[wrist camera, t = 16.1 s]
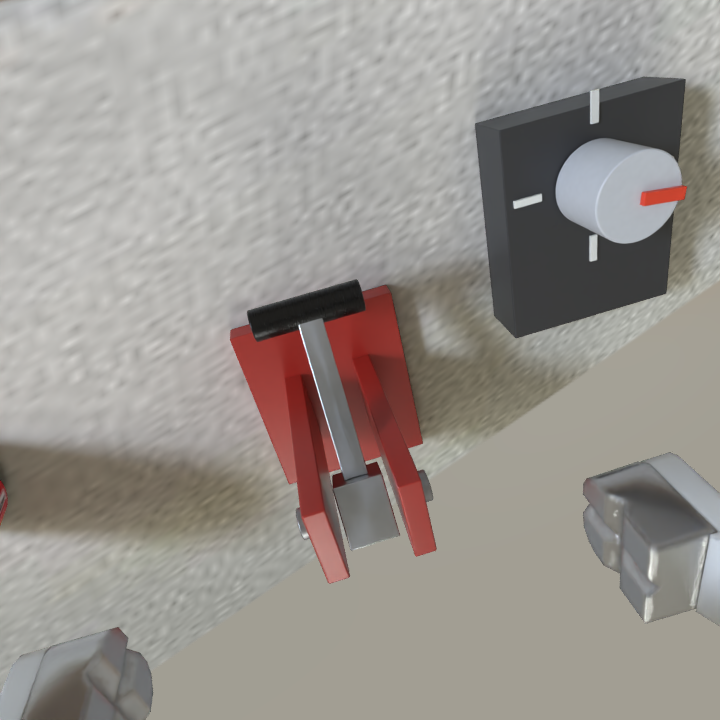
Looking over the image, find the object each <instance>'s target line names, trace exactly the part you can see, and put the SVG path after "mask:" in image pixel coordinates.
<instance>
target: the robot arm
mask: <svg viewBox="0 0 720 720" xmlns="http://www.w3.org/2000/svg"><path fill="white" fill-rule="evenodd" d="M583 495H584V496H585V497H586V499H587V500H588V502H589V503H590V504H589V505H588V506H587V508H586V509H585V511H584V512H583V516H584V517H583V518H584V528H585V531H586V534H587V537H588V540H589V542H590V544H591V546H592V548H593V550H594V552H595V553H596V555H597V556H598V558H599V559H600V561H601V562H602V564H603V565H604V566H606V567H608V568H610V569H612V570H614V571H616V572H618V573H620V589H621V590H622V592H623V593H624V595H625V596H626V597H627V599H628V600H629V602H630V603H631V604H632V606H633V607H634V608H635V610H636V611H637V613H638V614H639V616H640V617H641V618H642V620H643V621H644V622H645V623H649V622H653V621H656V620H659V619H663V618H666V617H670V616H673V615H676V614H680V613H683V612H686V611H690V610H693V609H696V612H697V613H699V614H701V615H702V616H704V617H705V618H707V619H709V620H711V621H712V622H714V623H715V624H717V625H718V626H720V493H719V492H718V491H717V490H716V489H715V488H714V487H712V486H711V485H710V484H709V483H708V482H707V481H706V480H705V479H704V478H702V477H701V476H700V475H699V474H698V473H697V472H696V471H695V470H694V469H692V468H691V467H690V466H689V465H688V464H687V463H686V462H685V461H684V460H682V459H681V458H680V457H679V456H678V455H676V454H673V453H671V452H669V453H666V454H663V455H659V456H656V457H653V458H650V459H647V460H643V461H641V462H635V463H632V464H629V465H626V466H623V467H620V468H617V469H614V470H611V471H608V472H605V473H602V474H599V475H596V476H593V477H590V478H587V479H586V480H585V482H584V484H583ZM127 641H128V637H127V636H126V635H125V634H124V633H123V632H122V631H121V630H120V629H119V627H117V628H113V629H109V630H106V631H102V632H99V633H95V634H92V635H88V636H85V637H81V638H78V639H74V640H71V641H67V642H64V643H60V644H57V645H53V646H50V647H47V648H43V649H40V650H37V651H34V652H30V653H27V654H24V655H21V656H20V657H19V658H18V659H17V661H16V662H15V663H14V664H13V665H12V667H11V669H10V671H9V674H8V677H7V679H6V682H5V684H4V687H3V690H2V692H1V695H0V720H146V718H147V716H148V715H149V713H150V712H151V704H152V696H153V688H152V677H151V672H150V669H149V666H148V664H147V661H146V660H145V659H144V657H143V656H142V655H141V653H139V652H136V651H132V650H129V649H126V647H127Z"/></svg>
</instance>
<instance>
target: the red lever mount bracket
mask: <svg viewBox="0 0 720 720" xmlns="http://www.w3.org/2000/svg"><path fill="white" fill-rule="evenodd" d="M362 294H363V297H364V301H365V306H366V310H365V311H363V312H359V313H356V314H353V315H349V316H346V317H342V318H339V319H335V320H332V321H329V322H325V323H324V325H325V328H326V332H327V335H328V339H329V342H330V345H331V349H332V352H333V355H334V359H335V362H336V366H337V369H338V372H339V376H340V379H341V383H342V386H343V389H344V393H345V396H346V399H347V403H348V406H349V410H350V413H351V416H352V420H353V423H354V426H355V430H356V433H357V437H358V440H359V443H360V447H361V450H362V454H363V457H364V460H365V461H368V460H371V459H374V458H377V457H382V460H383V463H384V466H385V469H386V472H387V475H388V478H389V481H390V483H391V486H392V489H393V492H394V495H395V498H396V501H397V504H398V507H399V509H400V513H401V515H402V518H403V521H404V524H405V527H406V530H407V533H408V536H409V539H410V542H411V545H412V548H413V551H414V554H415V556H420V555H423V554H426V553H430V552H433V551H436V544H435V539H434V535H433V531H432V526H431V522H430V517H429V513H428V508H427V504H426V502H428V501H431V500H433V493H432V490H431V486H430V483H429V480H428V477H427V475H426V473H425V471H424V470H420V471H417V469H416V467H415V464H414V462H413V459H412V457H411V455H410V452H409V450H408V448H410V447H414V446H417V445H420V444H423V441H422V436H421V432H420V427H419V422H418V417H417V413H416V408H415V403H414V399H413V394H412V389H411V384H410V380H409V375H408V370H407V366H406V361H405V356H404V351H403V347H402V342H401V337H400V333H399V328H398V323H397V318H396V314H395V309H394V304H393V299H392V295H391V292H390V290H389V289H388V287H387V286H386V285H384V286H380V287H377V288H373V289H370V290H366V291H363V292H362ZM230 341H231V343H232V346H233V348H234V351H235V353H236V356H237V358H238V361H239V363H240V365H241V368H242V370H243V373H244V375H245V378H246V380H247V383H248V385H249V387H250V390H251V392H252V395H253V397H254V400H255V402H256V404H257V407H258V409H259V412H260V414H261V417H262V419H263V422H264V424H265V426H266V429H267V431H268V434H269V436H270V439H271V441H272V444H273V446H274V448H275V451H276V453H277V456H278V458H279V461H280V463H281V465H282V468H283V470H284V473H285V475H286V478H287V480H288V483H289V484H292V483H296V482H297V487H298V495H299V503H300V507H299V508H297V509H296V518H297V522H298V526H299V530H300V533H301V535H302V537H303V539H304V540H306V539H309V538H310V540H311V542H312V545H313V547H314V550H315V552H316V554H317V557H318V559H319V562H320V564H321V566H322V569H323V571H324V574H325V576H326V579H327V581H328V583H329V584H331V583H334V582H337V581H340V580H343V579H346V578H349V577H350V574H349V569H348V564H347V559H346V554H345V549H344V545H343V539H342V534H341V529H340V524H339V519H338V514H337V509H336V505H335V500H334V495H333V490H332V485H331V480H330V475H329V472H332V471H335V470H338V469H341V468H340V465H339V461H338V458H337V455H336V451H335V448H334V444H333V441H332V438H331V434H330V431H329V428H328V424H327V421H326V418H325V414H324V411H323V408H322V404H321V401H320V397H319V394H318V391H317V387H316V384H315V381H314V377H313V374H312V371H311V367H310V364H309V361H308V357H307V354H306V351H305V347H304V344H303V340H302V337H301V334H300V330H298V331H294V332H291V333H287V334H284V335H281V336H277V337H274V338H270V339H267V340H263V341H260V342H257V341H256V340H255V338H254V336H253V333H252V331H251V328H250V324H249V325H246V326H242V327H239V328H235V329H232V330H231V331H230Z"/></svg>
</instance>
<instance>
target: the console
mask: <svg viewBox="0 0 720 720" xmlns="http://www.w3.org/2000/svg"><path fill="white" fill-rule="evenodd" d="M685 81H686V80H685V79H678V78H657V77H641V78H638V79H634V80H631V81H627V82H623V83H620V84H616V85H612V86H609V87H605V88H602V89H595V90H592V91H590V92H587V93H584V94H580V95H576V96H573V97H569V98H566V99H562V100H558V101H555V102H551V103H548V104H544V105H540V106H537V107H533V108H530V109H526V110H522V111H519V112H515V113H512V114H508V115H504V116H501V117H497V118H493V119H490V120H486V121H483V122H479V123H476V124H475V128H476V138H477V148H478V158H479V168H480V178H481V188H482V198H483V208H484V218H485V228H486V237H487V247H488V257H489V267H490V277H491V287H492V297H493V307H494V316H495V317H496V318H497V319H498V320H499V321H500V322H501V323H502V324H503V325H504V327H505V328H506V329H507V330H508V331H509V332H510V333H511V334H512V335H513V336H514V337H515V338H519V337H522V336H525V335H529V334H532V333H536V332H539V331H542V330H546V329H549V328H552V327H556V326H559V325H562V324H566V323H569V322H572V321H576V320H579V319H583V318H586V317H589V316H593V315H596V314H599V313H603V312H606V311H609V310H613V309H616V308H619V307H623V306H626V305H629V304H633V303H636V302H640V301H643V300H646V299H650V298H653V297H656V296H660V295H663V294H666V291H667V280H668V269H669V258H670V247H671V236H672V224H673V213H674V211H673V213H672V214H671V216H670V217H669V219H668V220H667V221H666V222H665V223H664V225H663V226H662V227H660V228H659V229H658V230H657V231H656V232H655V233H653V234H652V235H650V236H649V237H647V238H645V239H643V240H640V241H637V242H633V243H627V244H623V243H616V242H613V241H610V240H608V239H606V238H604V237H602V236H600V235H598V234H596V233H594V232H592V231H590V230H588V229H586V228H584V227H582V226H580V225H578V224H576V223H574V222H572V221H571V220H569V219H567V218H566V217H565V216H564V215H563V214H562V212H561V211H560V209H559V207H558V204H557V201H556V183H557V179H558V176H559V173H560V171H561V169H562V166H563V165H564V163H565V162H566V160H567V159H568V158H569V156H570V155H571V154H572V153H573V152H574V151H575V150H577V149H578V148H579V147H580V146H582V145H583V144H585V143H587V142H589V141H592V140H595V139H599V138H611V139H615V140H620V141H624V142H629V143H633V144H638V145H642V146H647V147H651V148H656V149H660V150H663V151H665V152H667V153H669V154H670V155H672V157H673V158H674V159H675V160H676V162H677V163H678V158H679V147H680V136H681V125H682V114H683V103H684V92H685Z"/></svg>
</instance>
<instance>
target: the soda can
mask: <svg viewBox="0 0 720 720" xmlns="http://www.w3.org/2000/svg"><path fill="white" fill-rule="evenodd" d="M7 504H8V497H7V492H6V489H5V487H4V485H3V483H2V482H1V480H0V525H1V522H2V520H3V517H4V514H5V511H6V508H7Z"/></svg>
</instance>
